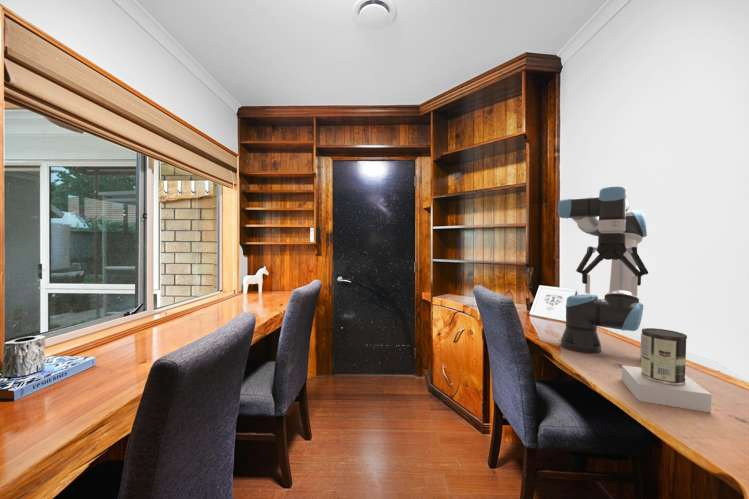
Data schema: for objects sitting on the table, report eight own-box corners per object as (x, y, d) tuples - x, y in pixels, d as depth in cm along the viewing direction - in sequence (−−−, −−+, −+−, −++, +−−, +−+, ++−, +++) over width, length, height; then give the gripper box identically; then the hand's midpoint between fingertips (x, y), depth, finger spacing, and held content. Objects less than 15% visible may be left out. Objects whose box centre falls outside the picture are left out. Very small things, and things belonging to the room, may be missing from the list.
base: (621, 379, 110) (621, 365, 110) (682, 388, 104) (682, 373, 104) (638, 401, 95) (638, 384, 95) (710, 412, 89) (711, 394, 89)
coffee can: (670, 373, 103) (671, 329, 103) (694, 387, 93) (696, 338, 93) (633, 370, 105) (634, 326, 105) (653, 383, 95) (654, 335, 95)
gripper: (572, 232, 112) (571, 294, 113) (662, 232, 104) (660, 298, 105) (567, 233, 119) (566, 290, 120) (651, 232, 111) (649, 294, 112)
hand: (610, 294), depth 113 cm, fingers open, 13 cm apart
